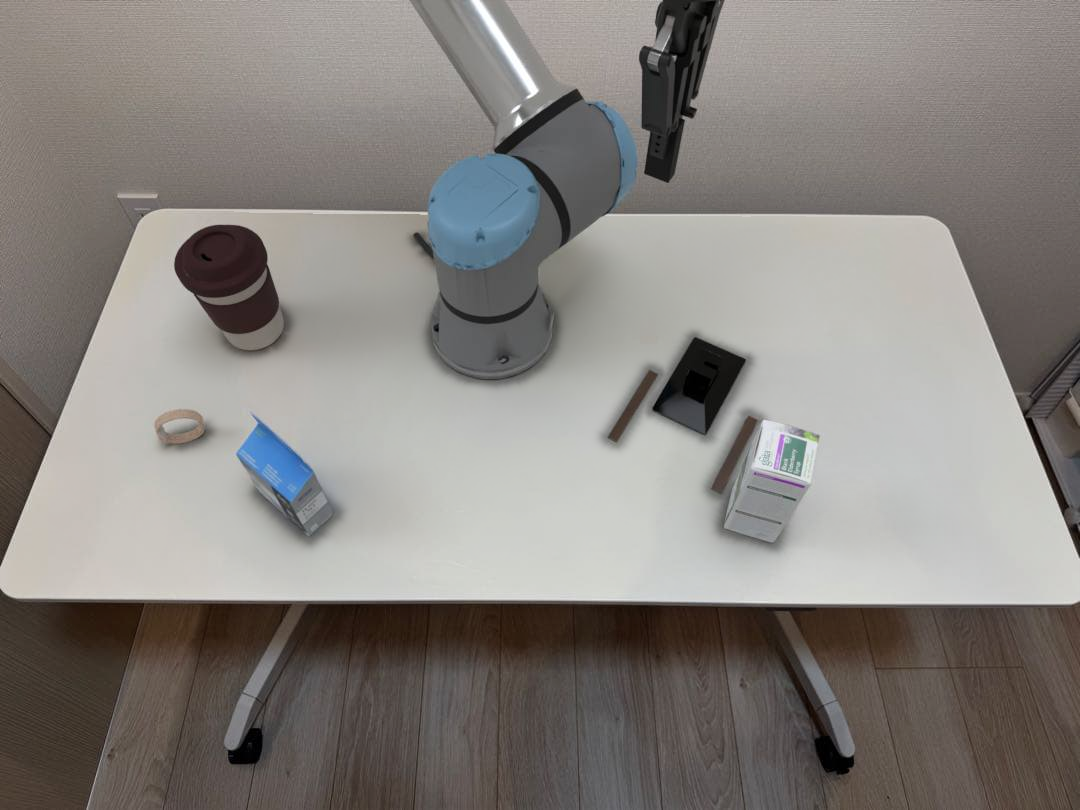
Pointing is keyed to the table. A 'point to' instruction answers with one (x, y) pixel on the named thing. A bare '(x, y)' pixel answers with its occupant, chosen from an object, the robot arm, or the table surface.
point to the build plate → (699, 385)
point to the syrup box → (771, 480)
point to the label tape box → (284, 478)
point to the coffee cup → (232, 283)
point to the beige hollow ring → (173, 415)
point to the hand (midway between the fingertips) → (659, 173)
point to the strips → (731, 457)
